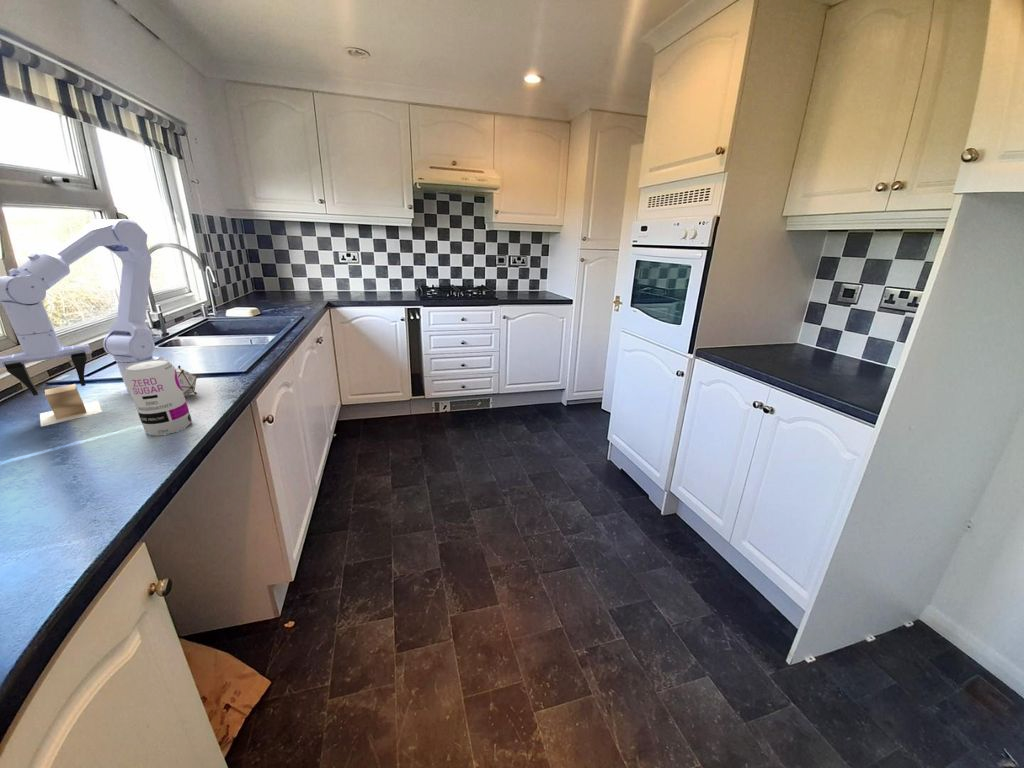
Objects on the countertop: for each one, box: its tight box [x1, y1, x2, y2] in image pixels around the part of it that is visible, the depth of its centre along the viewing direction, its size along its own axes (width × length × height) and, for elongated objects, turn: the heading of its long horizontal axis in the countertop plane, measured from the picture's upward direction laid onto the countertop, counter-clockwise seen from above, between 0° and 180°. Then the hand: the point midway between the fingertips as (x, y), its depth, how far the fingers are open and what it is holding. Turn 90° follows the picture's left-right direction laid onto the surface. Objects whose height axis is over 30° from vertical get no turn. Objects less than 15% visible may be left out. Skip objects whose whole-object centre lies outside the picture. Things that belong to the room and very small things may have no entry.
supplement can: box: [124, 358, 193, 436], centre depth 88 cm, size 8×8×15 cm
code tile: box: [39, 400, 103, 427], centre depth 97 cm, size 10×10×1 cm
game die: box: [175, 364, 201, 397], centre depth 106 cm, size 9×8×10 cm
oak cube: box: [44, 383, 86, 419], centre depth 96 cm, size 5×5×6 cm
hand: (60, 389), depth 95 cm, fingers open, 7 cm apart
